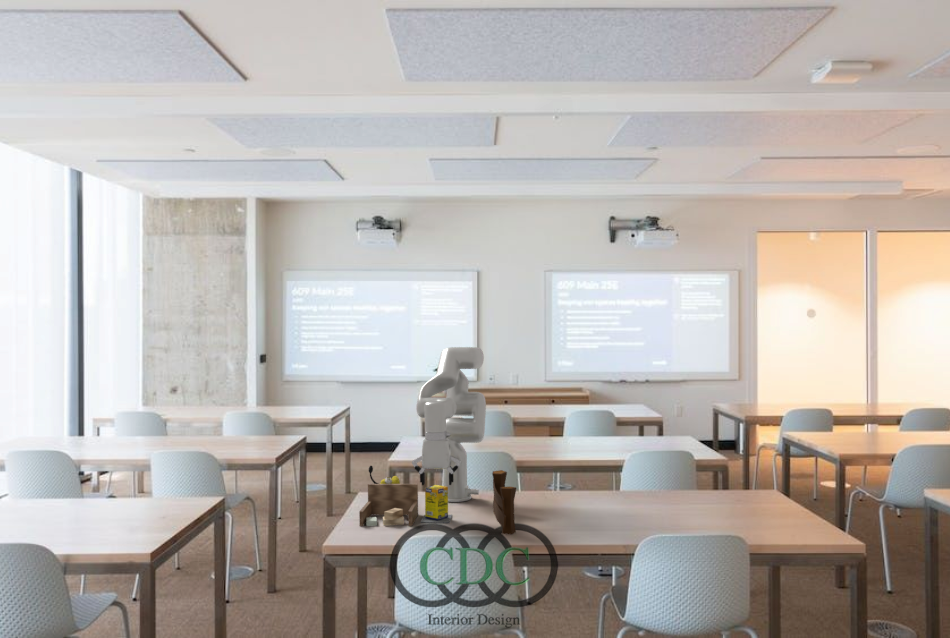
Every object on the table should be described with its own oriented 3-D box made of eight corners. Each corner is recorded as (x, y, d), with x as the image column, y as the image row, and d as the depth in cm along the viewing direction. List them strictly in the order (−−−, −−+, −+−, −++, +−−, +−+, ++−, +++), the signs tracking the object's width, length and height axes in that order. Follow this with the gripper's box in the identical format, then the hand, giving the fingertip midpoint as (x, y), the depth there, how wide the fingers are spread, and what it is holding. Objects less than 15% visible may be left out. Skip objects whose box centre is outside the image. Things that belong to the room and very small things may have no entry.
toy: (408, 470, 288) (368, 467, 286) (403, 507, 288) (364, 503, 286) (407, 467, 295) (369, 464, 293) (403, 503, 294) (364, 500, 292)
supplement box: (437, 521, 260) (437, 489, 260) (424, 518, 264) (424, 487, 264) (448, 517, 265) (448, 486, 265) (435, 515, 268) (435, 484, 269)
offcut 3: (403, 522, 262) (402, 515, 262) (404, 525, 258) (404, 518, 258) (382, 524, 261) (382, 516, 261) (383, 527, 257) (383, 519, 257)
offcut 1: (376, 522, 262) (376, 516, 262) (376, 526, 257) (376, 520, 257) (366, 523, 262) (366, 517, 262) (366, 527, 257) (366, 521, 257)
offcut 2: (394, 515, 263) (394, 507, 263) (403, 516, 261) (402, 509, 261) (384, 519, 258) (384, 511, 258) (392, 520, 256) (392, 512, 256)
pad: (452, 515, 269) (452, 514, 269) (449, 523, 259) (449, 521, 259) (424, 515, 269) (424, 514, 269) (420, 523, 259) (420, 521, 259)
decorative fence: (490, 510, 276) (490, 469, 276) (506, 510, 276) (506, 469, 276) (501, 536, 242) (500, 490, 242) (518, 535, 242) (518, 489, 243)
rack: (418, 514, 272) (417, 483, 272) (411, 526, 256) (411, 493, 256) (368, 514, 273) (368, 483, 273) (359, 526, 257) (359, 493, 257)
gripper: (461, 433, 268) (462, 481, 268) (412, 434, 269) (414, 481, 269) (459, 438, 260) (460, 487, 261) (409, 438, 261) (411, 487, 262)
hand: (436, 484), depth 265 cm, fingers open, 9 cm apart
